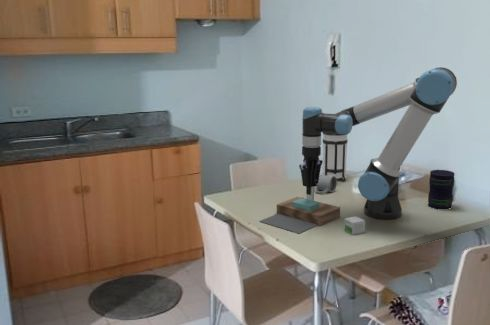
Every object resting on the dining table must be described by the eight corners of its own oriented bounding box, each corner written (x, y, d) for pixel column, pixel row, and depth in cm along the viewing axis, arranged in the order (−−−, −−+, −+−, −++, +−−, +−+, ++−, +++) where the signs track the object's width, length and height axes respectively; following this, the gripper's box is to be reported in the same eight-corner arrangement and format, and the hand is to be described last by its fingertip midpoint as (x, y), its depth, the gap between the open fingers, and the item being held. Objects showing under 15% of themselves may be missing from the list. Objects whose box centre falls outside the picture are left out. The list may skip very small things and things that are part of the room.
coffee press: (312, 178, 265) (312, 121, 258) (334, 173, 274) (336, 118, 267) (335, 185, 251) (336, 125, 244) (358, 180, 260) (360, 122, 253)
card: (318, 207, 207) (318, 202, 207) (309, 211, 203) (309, 206, 203) (301, 202, 213) (301, 198, 213) (292, 206, 209) (292, 201, 209)
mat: (317, 225, 199) (317, 224, 199) (299, 233, 190) (299, 233, 190) (278, 214, 212) (278, 213, 212) (259, 221, 204) (259, 221, 204)
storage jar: (456, 206, 218) (459, 172, 214) (444, 211, 212) (446, 177, 208) (435, 201, 225) (438, 168, 222) (422, 205, 219) (425, 172, 216)
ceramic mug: (321, 187, 249) (321, 172, 247) (337, 189, 244) (337, 174, 242) (311, 193, 241) (311, 177, 239) (327, 195, 236) (327, 180, 234)
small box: (343, 230, 194) (344, 218, 193) (356, 227, 196) (356, 215, 195) (352, 235, 189) (353, 222, 187) (365, 232, 191) (365, 220, 190)
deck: (339, 216, 208) (340, 207, 207) (320, 225, 198) (320, 216, 197) (297, 205, 223) (297, 196, 222) (276, 213, 213) (276, 204, 212)
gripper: (313, 142, 212) (312, 196, 218) (294, 147, 203) (293, 203, 209) (328, 144, 207) (326, 199, 213) (309, 149, 198) (307, 207, 204)
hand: (310, 201), depth 211 cm, fingers closed
